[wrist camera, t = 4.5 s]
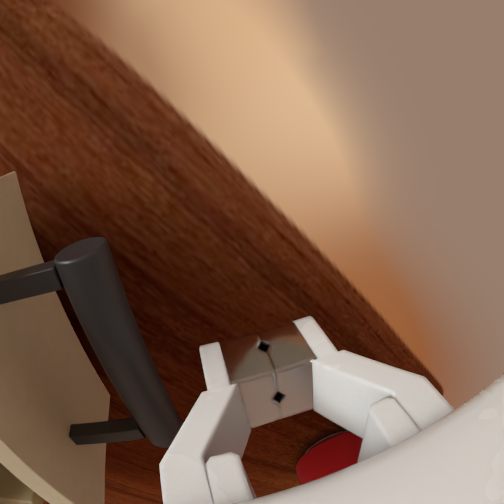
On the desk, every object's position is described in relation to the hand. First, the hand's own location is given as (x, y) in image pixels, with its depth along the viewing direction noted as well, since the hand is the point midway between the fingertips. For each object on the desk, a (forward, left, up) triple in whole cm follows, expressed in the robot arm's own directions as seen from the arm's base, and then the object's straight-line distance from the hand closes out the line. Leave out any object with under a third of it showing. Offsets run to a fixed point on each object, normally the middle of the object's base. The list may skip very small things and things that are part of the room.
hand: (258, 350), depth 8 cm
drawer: (+10, -5, -5) cm, 13 cm away
